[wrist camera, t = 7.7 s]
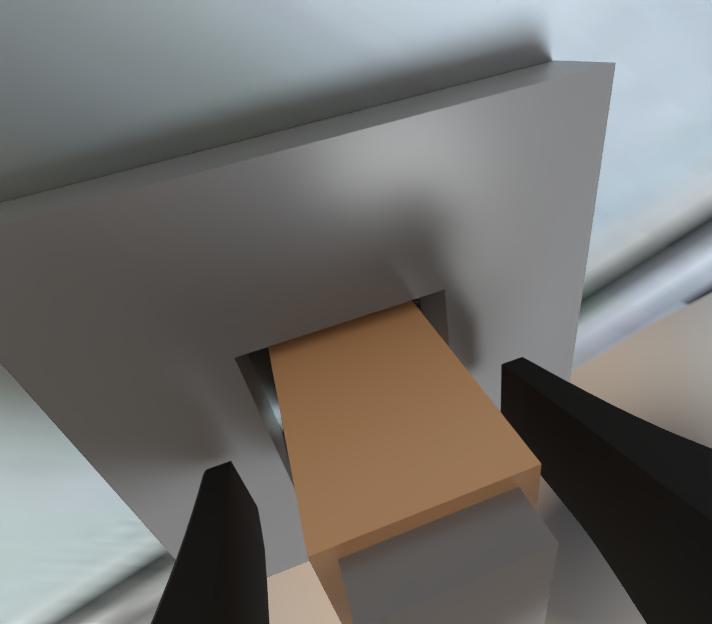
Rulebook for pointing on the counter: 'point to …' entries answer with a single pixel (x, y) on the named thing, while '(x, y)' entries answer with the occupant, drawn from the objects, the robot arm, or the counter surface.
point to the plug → (409, 478)
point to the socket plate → (297, 275)
